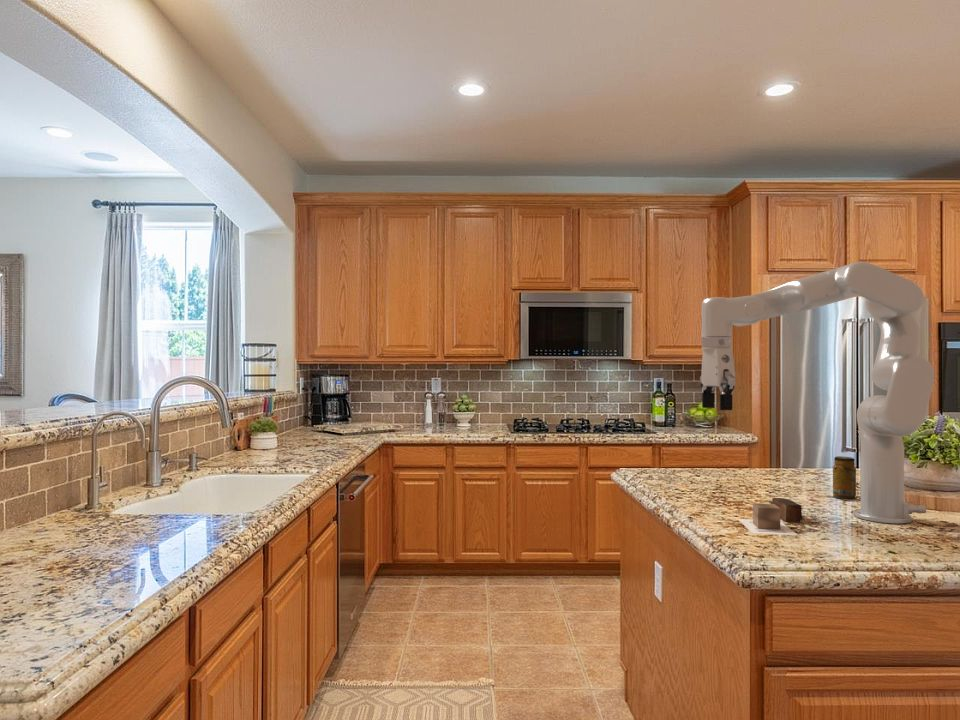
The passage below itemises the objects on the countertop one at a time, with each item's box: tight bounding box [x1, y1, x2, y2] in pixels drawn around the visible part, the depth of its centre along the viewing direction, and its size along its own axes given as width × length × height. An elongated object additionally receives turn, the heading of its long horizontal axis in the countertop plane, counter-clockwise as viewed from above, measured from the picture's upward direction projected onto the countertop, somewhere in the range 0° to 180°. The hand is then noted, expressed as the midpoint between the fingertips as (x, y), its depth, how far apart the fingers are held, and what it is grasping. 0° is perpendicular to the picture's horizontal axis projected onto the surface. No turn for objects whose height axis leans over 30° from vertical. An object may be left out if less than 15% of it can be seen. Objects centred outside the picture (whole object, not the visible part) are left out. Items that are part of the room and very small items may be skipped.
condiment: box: [826, 455, 861, 502], centre depth 189 cm, size 7×8×12 cm
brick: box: [770, 497, 803, 523], centre depth 163 cm, size 11×4×5 cm, turn 175°
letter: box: [738, 518, 798, 536], centre depth 154 cm, size 10×14×1 cm
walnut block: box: [752, 502, 781, 529], centre depth 154 cm, size 5×5×5 cm
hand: (716, 408), depth 168 cm, fingers open, 9 cm apart
